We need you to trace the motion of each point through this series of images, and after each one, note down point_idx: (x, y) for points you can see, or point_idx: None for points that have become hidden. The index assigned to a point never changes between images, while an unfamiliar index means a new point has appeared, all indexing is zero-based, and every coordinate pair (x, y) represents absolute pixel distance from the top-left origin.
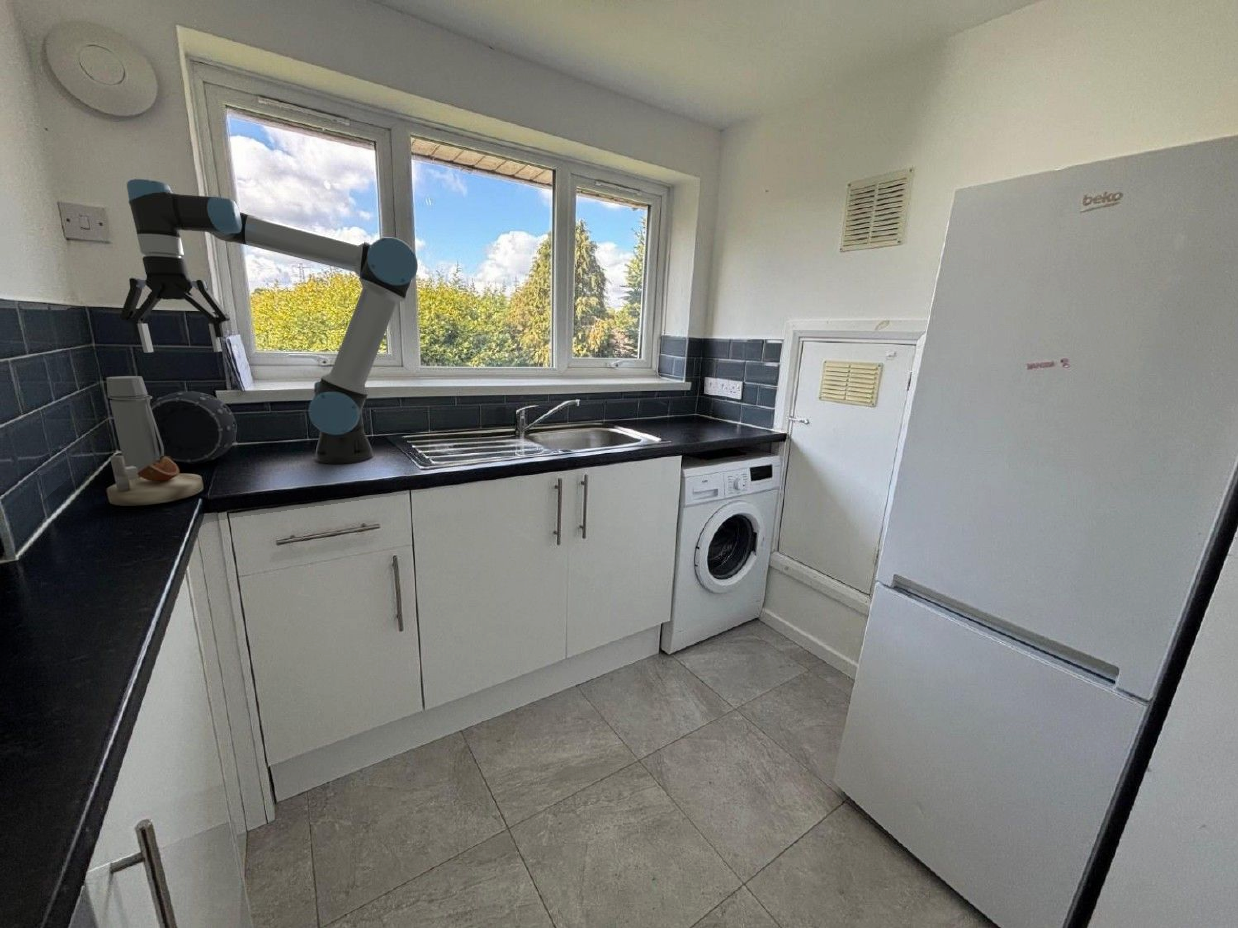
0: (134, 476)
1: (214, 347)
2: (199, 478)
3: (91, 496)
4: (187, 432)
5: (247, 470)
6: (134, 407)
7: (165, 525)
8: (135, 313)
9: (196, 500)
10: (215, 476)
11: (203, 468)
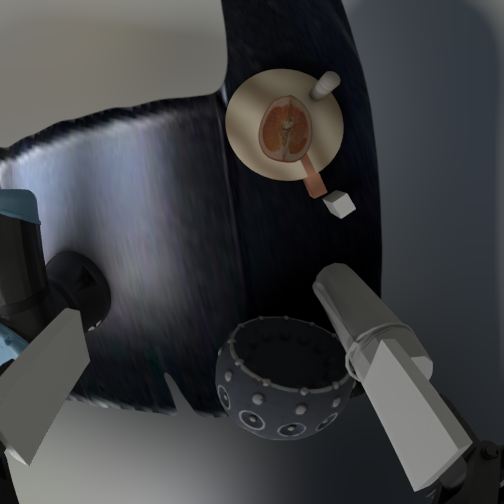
0: (332, 198)
1: (63, 321)
2: (229, 130)
3: (368, 175)
4: (291, 365)
5: (193, 258)
6: (370, 321)
7: (241, 12)
8: (496, 492)
9: (229, 95)
10: (233, 234)
11: (262, 295)
